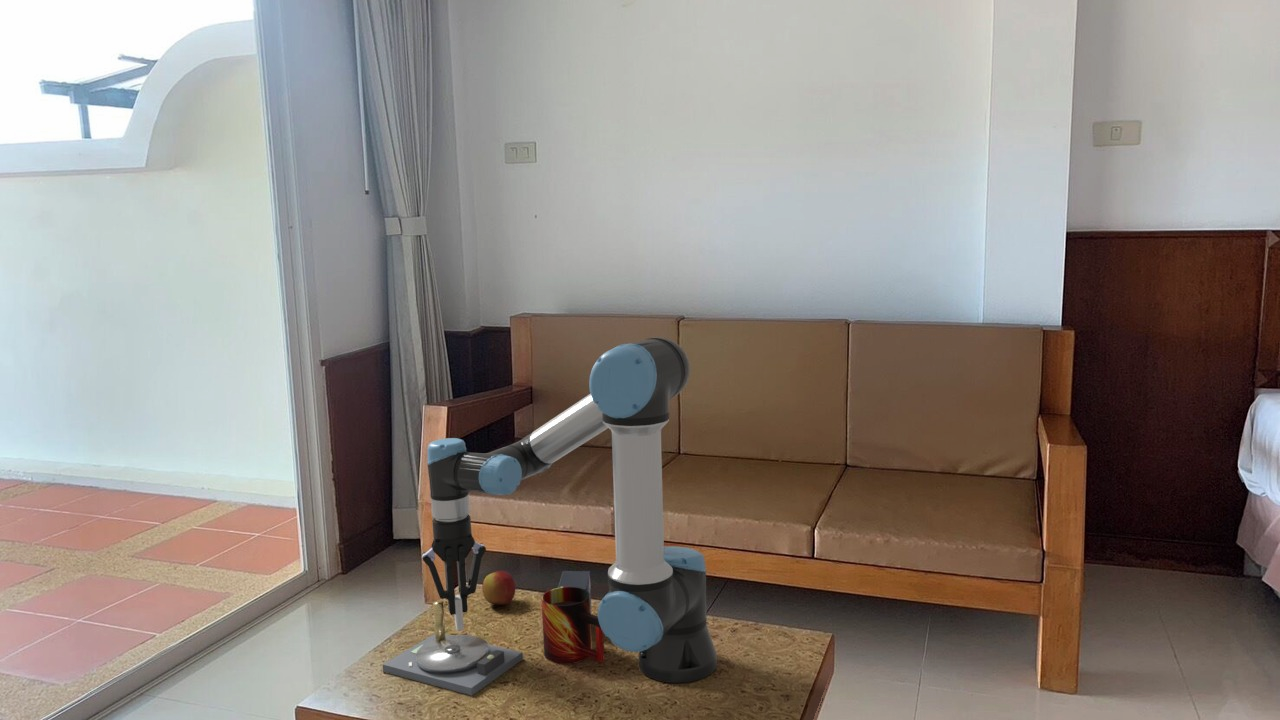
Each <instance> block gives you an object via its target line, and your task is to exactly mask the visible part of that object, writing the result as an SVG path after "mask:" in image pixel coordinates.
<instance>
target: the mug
mask: <svg viewBox="0 0 1280 720" xmlns="http://www.w3.org/2000/svg"><path fill="white" fill-rule="evenodd" d="M541 615H542V616H541V617H542V635H543V638H542V639H543V640H542V641H543V655H544V658H545V659H546V660H548V661H549V662H551V663H554V664H559V665H560V664H562V665H563V664H565V665H566V664H567V665H569V664H575V663H579V662H583V661H585V660H586V659H588V658H589V659H592V660H594V661H597V662H598V663H602V662H604V661H605V651H604V650H605V649H604V648H605V647H604V633H603V631H602V629H601V627H600V624H599V621H598V615H595V614H592V613H591V614H590V594H589V592H588V591H587V590H585V589H582V588H578V587H560V588H558V587H556V588H552V589H549V590H547V591H546V592H544V593H543V594H542V595H541ZM592 626H595V641H596V642H595V645H596V646H595V647H596V649H594V648H593V645H592V643H593V641H592Z"/></svg>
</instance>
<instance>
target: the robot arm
mask: <svg viewBox="0 0 1280 720" xmlns="http://www.w3.org/2000/svg"><path fill="white" fill-rule="evenodd" d="M689 360H690V359H689V358H688V355H687V353H686V352H685V350H684V349H683V347H681V346H680V345H679V344H678V343H677V342H676V341H673V340H671V339H669V338H666V337H659V336H658V337H657V336H655V337H651V338H649V337H648V338H645V339H643V340H639V341H633V342H629V343H622V344H619V345H617V346H616V347H613V348H612V349H609V350H607V351H605V352H604V353H602V354H601V356H599V357H598V359H597V360H596V362H595V363H594V364H593V366H592V368H591V372H590V375H589V381H588V384H589V385H588V387H589V394H587V395H586V396H585V397H583V398H581V399H580V400H579V401H577V402H575V403H574V404H573V405H571V406H569V407H568V408H567V409H565V410H564V411H562V412H560V413H559V414H558V415H556V416H554V417H553V418H551V419H550V420H549V421H547V422H545V423H544V424H543V425H541V426H540V427H538V428H537V429H535V430H534V431H532V432H531V433H529V434H527V435H525V437H523V438H521V439H520V440H518V441H516V442H514V443H511V444H509V445H507V446H504V447H501V448H498V449H495V450H493V451H490V452H486V453H484V452H483V453H481V452H473V451H472V452H471V451H467V447H466V442H465V441H464V439H461V438H457V437H450V438H449V437H447V438H440V439H436V440H433V441H431V442H430V443H429V444H428V445H427V463H426V466H427V471H428V473H427V474H428V480H429V492H430V495H429V496H430V506H431V509H430V510H431V517H432V520H431V522H432V523H431V525H432V536H433V540H432V542H431V548H430V549H428V550H427V551H426V552H425V551H424V552H422V553H421V559H422V561H423V562H424V563H425V564H426V566H428V569H429V571H430V574H431V577H432V581H433V582H434V586H435V588H436V592H437V593H438V594H437V595H438V596H439V598H440V599H441V600H447V607H448V612H449V614H450V616H454V627H455V629H456V631H457V632H462V631H464V630H465V626H464V625H465V624H464V614H463V613H467V612H468V610H469V609H468V596H469V595H471V594H472V595H473V594H474V593H476V590H477V584H478V579H479V574H480V568H481V564H482V563H481V562H482V559H483V556H484V555H485V553H486V551H487V548H486V546H485V545H484V544H483V542H480V543H479V542H477V541H476V540H475V538H474V537H473V533H472V520H471V515H469V514H470V513H471V506H470V494H469V493H470V492H475V493H481V494H489V495H490V496H491V495H493V496H508V495H512V494H513V493H515V492H516V489H517V488H519V487H520V484H521V481H523V480H525V479H527V478H529V477H532V476H535V475H538V474H539V475H540V474H541V473H543V472H545V471H546V470H548V469H550V468H551V466H552V465H553V463H555V462H557V461H558V460H560V459H561V458H563V457H565V456H566V455H568V454H569V453H571V452H572V451H574V450H576V449H577V448H579V447H580V446H582V445H583V444H585V443H587V442H588V441H590V440H591V439H593V438H595V437H596V436H598V435H600V434H601V433H603V432H604V431H606V430H607V429H609V430H610V432H611V445H612V446H611V447H612V448H611V449H612V452H611V453H612V477H613V479H612V480H613V507H614V511H613V512H614V534H615V535H614V537H615V539H614V540H615V544H614V545H615V562H614V563H613V564H612V565H611V566H609V567H608V571H607V587H608V589H607V590H608V591H607V592H608V593H606V594H605V596H604V597H602V599H601V601H599V605H598V608H597V616H598V621H599V624H600V627H601V629H602V631H603V635H604V636H605V637H606V638H608V639H609V640H610V642H611V643H612V644H613V645H614V646H616V647H618V648H620V649H621V650H623V651H626V652H631V653H638V668H639V669H640V670H639V671H641V673H643V674H644V675H645V676H647V677H648V678H650V679H653V680H655V681H659V682H664V683H674V684H679V683H681V684H682V683H691V682H695V681H700V680H702V679H705V678H707V677H708V676H710V675H711V674H712V673H713V672H714V671H715V670H716V669H717V665H718V664H717V663H718V659H717V656H718V655H717V650H716V648H715V645H714V642H713V639H712V637H711V634H710V632H709V628H708V622H707V616H708V615H707V568H706V560H705V559H706V558H705V556H704V555H703V553H701V552H699V550H696V549H692V548H689V547H684V546H683V547H682V546H664V543H665V542H664V539H665V538H664V513H663V512H664V506H663V505H664V504H663V500H664V499H663V498H664V497H663V470H662V469H663V466H662V465H663V462H662V429H663V428H664V427H665V426H666V424H668V422H670V400H671V399H673V398H675V397H676V396H678V395H679V394H680V393H681V392H682V391H683V390H684V389H685V387H686V386H687V384H688V380H689V378H690V372H691V366H690V361H689ZM471 550H472V552H473V555H472V560H471V565H470V566H471V567H470V571H469V577H468V582H467V575H466V558H467V557H468V556H469V554H470V553H471ZM435 554H436V555H437V557H439V559H440V560H441V561H442V562H443V564H444V575H445V583H446V585H445V586H446V589H444V586H443V584H442V581H441V578H440V576H439V571H438V570H437V567H436V565H435V562H434V561H435V560H436V557H435ZM454 562H455V563H456V567H457V568H456V569H457V583H458V593H459V594H455V593H456V592H455V580H454V579H455V578H454V569H453V567H454V565H453V563H454Z"/></svg>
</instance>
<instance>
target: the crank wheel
mask: <svg viewBox="0 0 1280 720" xmlns="http://www.w3.org/2000/svg"><path fill="white" fill-rule="evenodd" d="M432 606H433V607H432V609H433V610H432V611H433V623H434V634H435V639H434V640H432V641H429V642H427V643H426V644H424V645H423V646H421V647H420V648H419V649H418V651H417V653H416V659H417V664H418V666H419V667H421V668H422V669H424V670H427V671H430V672H437V673H450V672H458V671H463V670H466V669H469V668H472V667H475V666H477V662H479V661H480V660H482V659H483V658H485V657H486V656H488V654H489V646H488V644H489V643H488V642H487V641H486V640H485V639H483V638H482V637H479V636H476V635H473V634H452V635H451V634H449V635H450V636H445V634H446V624H445V611H444V610H445V609H444V601H443V600H439V599H438V600H435V601H433V602H432Z"/></svg>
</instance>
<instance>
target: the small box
mask: <svg viewBox="0 0 1280 720" xmlns="http://www.w3.org/2000/svg"><path fill="white" fill-rule="evenodd" d="M590 573H591V571H589V570H583V571H582V570H579V571H578V570H574V571H573V570H563V571H562V573H561V576H560V579H559V580H560V581H559V583H558V586H557V588H560V587H578V588H582V589H585V590H587V591H588V592H589V594H590V614H592V594H591V593H592V592H591V591H592V590H591V574H590Z"/></svg>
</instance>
